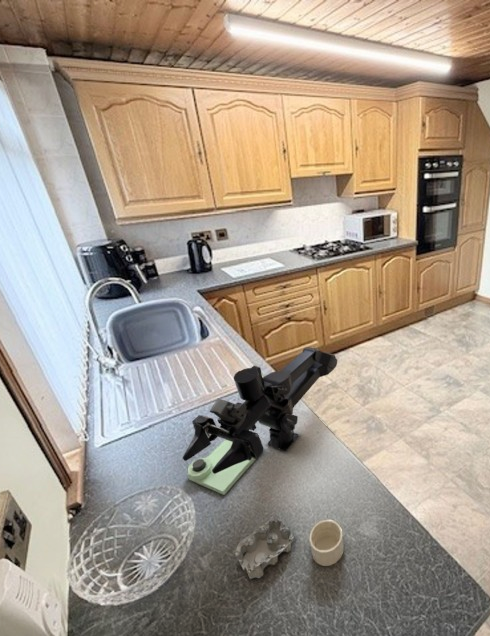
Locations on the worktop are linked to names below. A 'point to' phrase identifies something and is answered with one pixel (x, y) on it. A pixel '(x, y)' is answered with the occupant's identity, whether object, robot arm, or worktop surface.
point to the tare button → (198, 465)
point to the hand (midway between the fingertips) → (198, 465)
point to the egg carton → (264, 546)
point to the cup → (326, 542)
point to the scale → (221, 479)
